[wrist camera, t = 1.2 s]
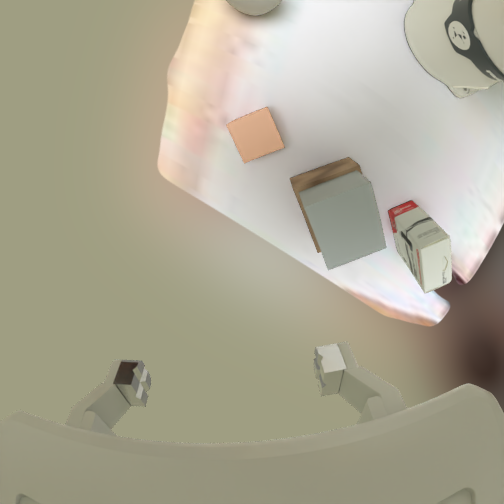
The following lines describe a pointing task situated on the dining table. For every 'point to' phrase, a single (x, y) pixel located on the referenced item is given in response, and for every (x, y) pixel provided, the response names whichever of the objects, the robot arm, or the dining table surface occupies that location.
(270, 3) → the figurine
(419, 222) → the ink box
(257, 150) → the terracotta block
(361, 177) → the slate block
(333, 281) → the dining table surface
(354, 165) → the walnut block
